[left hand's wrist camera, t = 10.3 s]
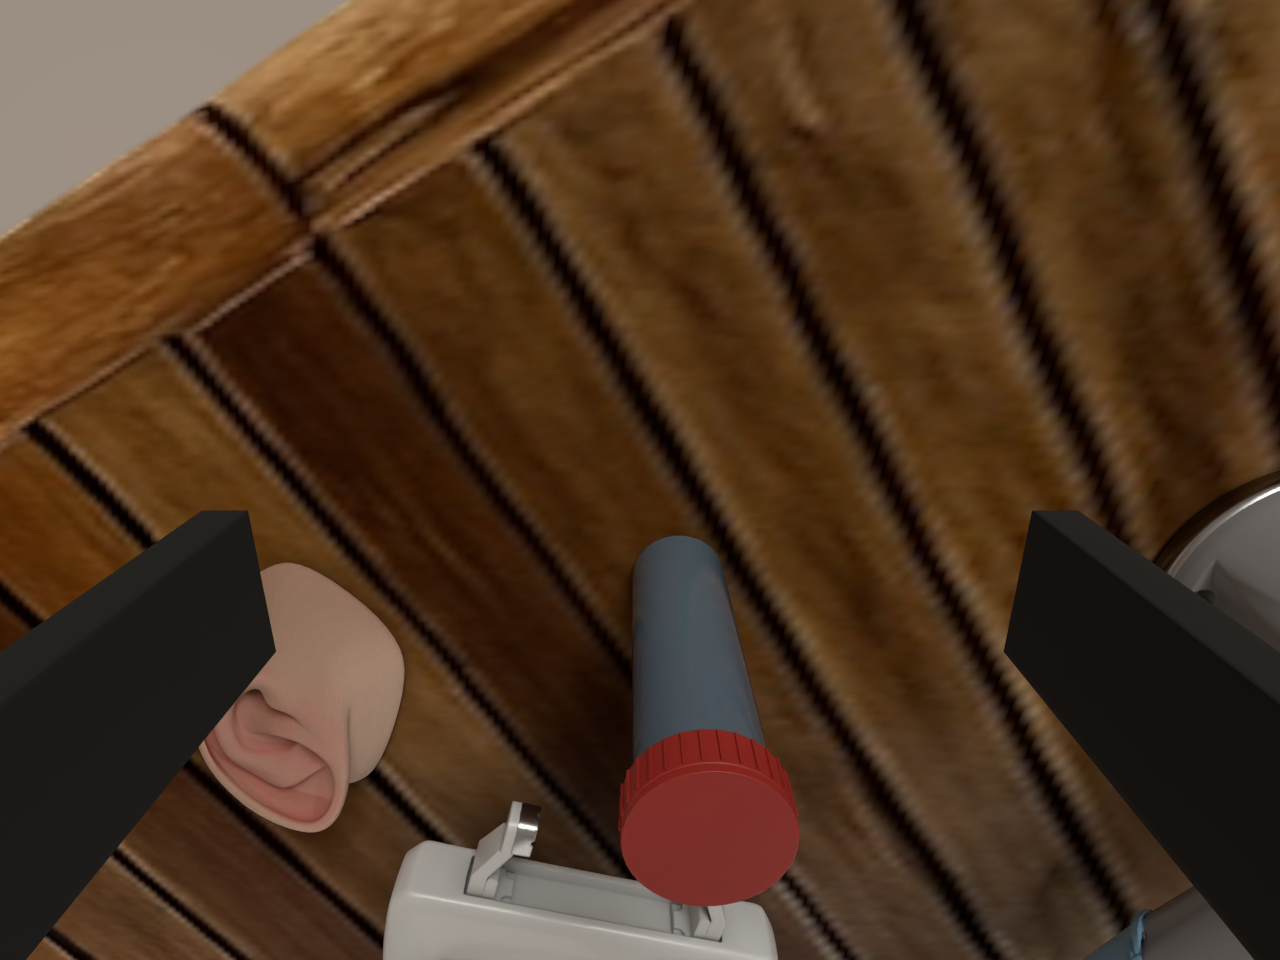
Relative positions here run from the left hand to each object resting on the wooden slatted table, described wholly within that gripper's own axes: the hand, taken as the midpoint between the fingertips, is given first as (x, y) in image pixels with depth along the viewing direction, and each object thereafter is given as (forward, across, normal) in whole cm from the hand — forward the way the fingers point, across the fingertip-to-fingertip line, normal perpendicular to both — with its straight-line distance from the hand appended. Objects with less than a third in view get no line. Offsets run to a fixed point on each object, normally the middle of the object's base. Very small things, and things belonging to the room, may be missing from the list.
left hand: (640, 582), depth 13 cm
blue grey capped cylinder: (+23, -2, +12) cm, 26 cm away
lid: (+6, -2, +12) cm, 14 cm away
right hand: (+17, +1, +23) cm, 28 cm away
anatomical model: (+23, +18, +18) cm, 34 cm away
